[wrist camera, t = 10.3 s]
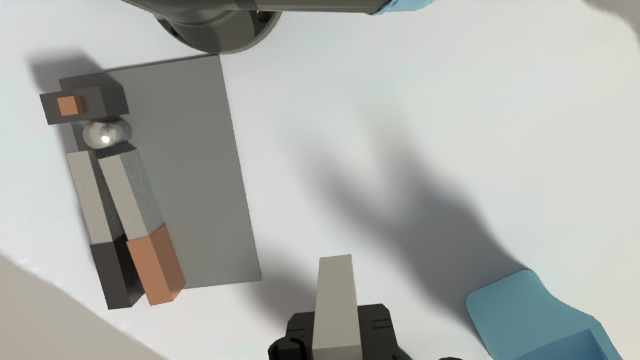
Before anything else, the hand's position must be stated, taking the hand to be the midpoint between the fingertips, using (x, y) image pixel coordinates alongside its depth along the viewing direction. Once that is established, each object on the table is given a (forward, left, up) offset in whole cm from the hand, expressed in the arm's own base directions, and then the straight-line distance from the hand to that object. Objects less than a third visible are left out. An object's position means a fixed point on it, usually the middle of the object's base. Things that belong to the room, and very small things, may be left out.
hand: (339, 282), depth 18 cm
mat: (0, -21, -28) cm, 35 cm away
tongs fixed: (0, -27, -28) cm, 39 cm away
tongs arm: (+2, -24, -28) cm, 37 cm away
